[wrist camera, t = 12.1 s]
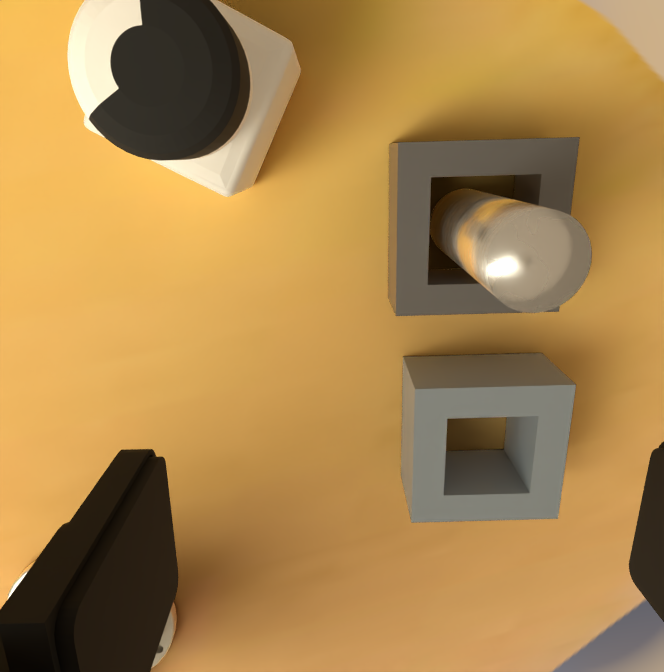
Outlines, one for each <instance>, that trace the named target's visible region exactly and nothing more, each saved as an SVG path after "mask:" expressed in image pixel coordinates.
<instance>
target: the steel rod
mask: <svg viewBox="0 0 664 672" xmlns="http://www.w3.org/2000/svg"><path fill="white" fill-rule="evenodd" d="M429 227H430V234H431V237H432V239H433V241H434V243H435V244H436V245H437V247H438V248H439V249H441V250H442V251H443V252H444V253H445V254H446V255H447V256H449V257H450V258H451V259H452V260H453V261H454V262H456V263H457V264H458V265H459V266H460V267H461V268H463V269H464V270H465V271H466V272H467V273H468V274H470V275H471V276H472V277H473V278H474V279H475V280H477V281H478V282H479V283H480V284H481V285H482V286H483V287H485V288H486V289H487V290H488V291H489V292H490V293H492V294H493V295H494V296H495V297H496V298H497V299H499V300H500V301H501V302H502V303H503V304H505V305H506V306H508V307H510V308H512V309H514V310H517V311H520V312H526V313H538V312H544V311H548V310H551V309H554V308H556V307H558V306H560V305H562V304H563V303H565V302H566V301H568V300H569V299H570V298H571V297H572V296H573V295H574V294H575V293H576V292H577V291H578V290H579V289H580V287H581V286H582V284H583V283H584V281H585V279H586V277H587V275H588V272H589V269H590V265H591V258H592V251H591V244H590V240H589V237H588V235H587V233H586V231H585V229H584V228H583V226H582V225H581V224H580V223H579V222H578V221H577V220H576V219H575V218H573V217H572V216H570V215H568V214H566V213H564V212H561V211H558V210H554V209H550V208H546V207H542V206H538V205H534V204H530V203H526V202H522V201H518V200H514V199H510V198H506V197H502V196H498V195H494V194H490V193H486V192H482V191H478V190H474V189H466V188H464V189H458V190H454V191H452V192H450V193H448V194H446V195H445V196H443V197H442V198H441V199H440V200H439V201H438V203H437V204H436V205H435V207H434V209H433V211H432V213H431V217H430V226H429Z"/></svg>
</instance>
